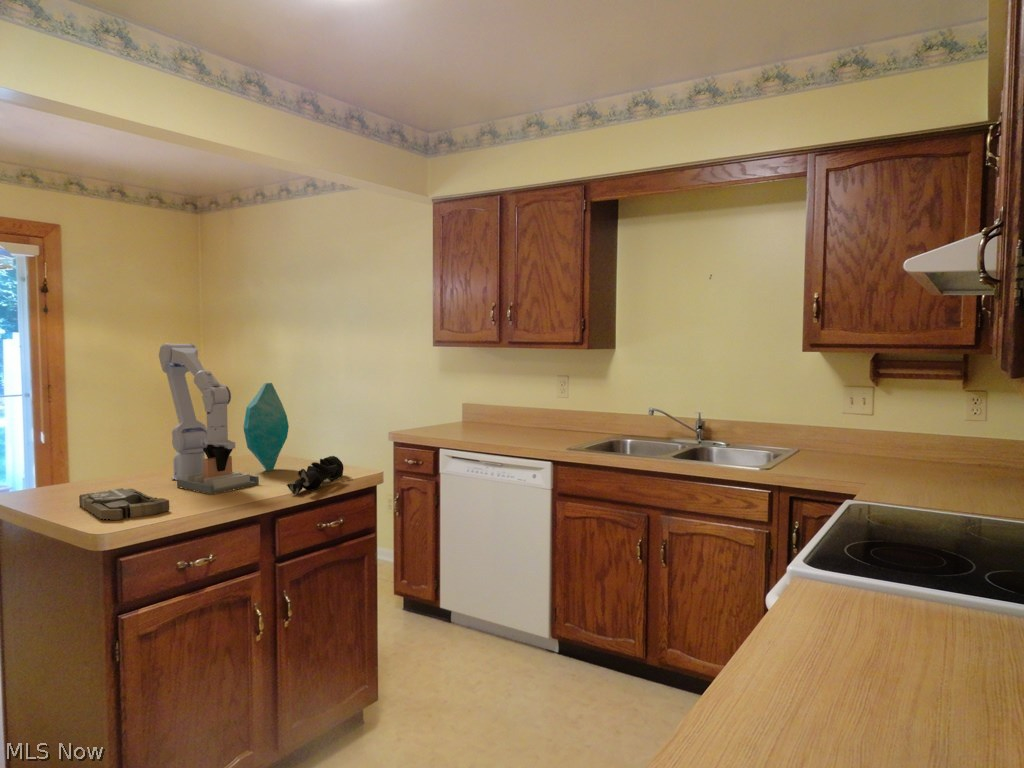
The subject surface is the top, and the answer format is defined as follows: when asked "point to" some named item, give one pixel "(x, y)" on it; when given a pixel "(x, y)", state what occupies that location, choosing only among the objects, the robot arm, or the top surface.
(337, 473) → the figurine
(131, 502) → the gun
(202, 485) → the rack
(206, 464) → the tile
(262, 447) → the crystal
